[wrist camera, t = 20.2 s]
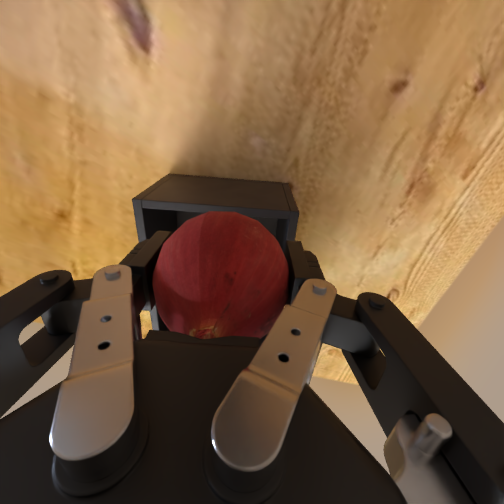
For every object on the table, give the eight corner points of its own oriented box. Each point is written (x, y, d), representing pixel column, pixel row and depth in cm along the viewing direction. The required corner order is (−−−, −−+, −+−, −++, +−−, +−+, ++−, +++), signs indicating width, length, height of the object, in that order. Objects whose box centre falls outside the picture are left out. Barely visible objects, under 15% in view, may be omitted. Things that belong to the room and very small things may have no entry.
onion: (303, 243, 15) (344, 365, 8) (233, 298, 17) (214, 436, 10) (228, 167, 13) (191, 235, 6) (159, 239, 15) (68, 357, 8)
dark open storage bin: (168, 173, 31) (131, 198, 22) (288, 182, 31) (299, 211, 22) (178, 291, 40) (154, 344, 31) (272, 298, 40) (275, 353, 31)
